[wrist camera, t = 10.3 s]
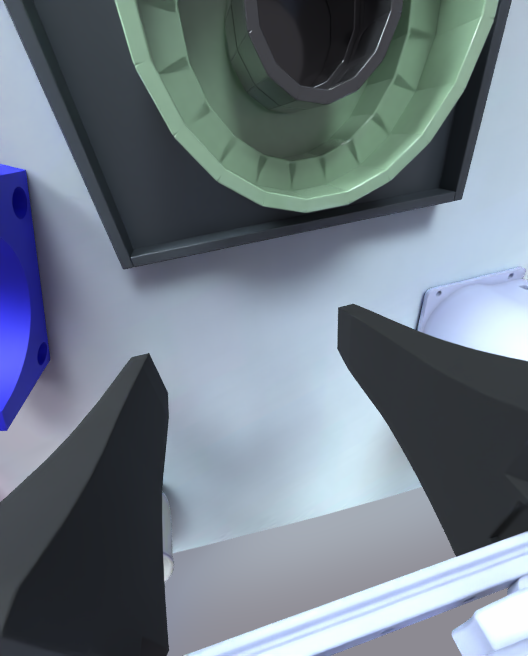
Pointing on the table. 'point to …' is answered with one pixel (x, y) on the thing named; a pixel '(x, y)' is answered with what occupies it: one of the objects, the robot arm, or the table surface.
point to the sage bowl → (312, 124)
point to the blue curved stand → (19, 298)
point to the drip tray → (178, 165)
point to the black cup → (307, 48)
